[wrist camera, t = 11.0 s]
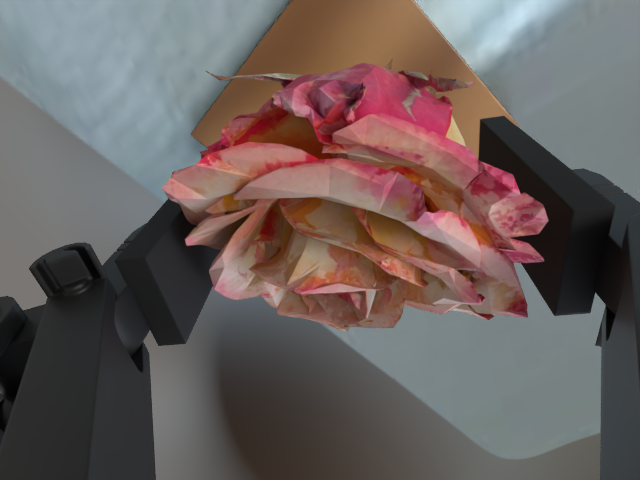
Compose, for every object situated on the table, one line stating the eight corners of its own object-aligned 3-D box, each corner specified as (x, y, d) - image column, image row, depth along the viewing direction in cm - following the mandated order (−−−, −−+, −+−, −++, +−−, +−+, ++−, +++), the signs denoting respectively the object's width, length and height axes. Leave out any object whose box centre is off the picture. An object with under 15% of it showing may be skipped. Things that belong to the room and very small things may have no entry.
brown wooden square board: (195, 129, 20) (189, 134, 20) (349, -75, 16) (349, -78, 15) (350, 257, 24) (350, 265, 23) (513, 121, 19) (520, 126, 18)
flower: (200, -79, 10) (32, 204, 7) (624, -71, 8) (652, 324, 5) (281, 158, 18) (223, 327, 15) (490, 189, 17) (470, 387, 14)
